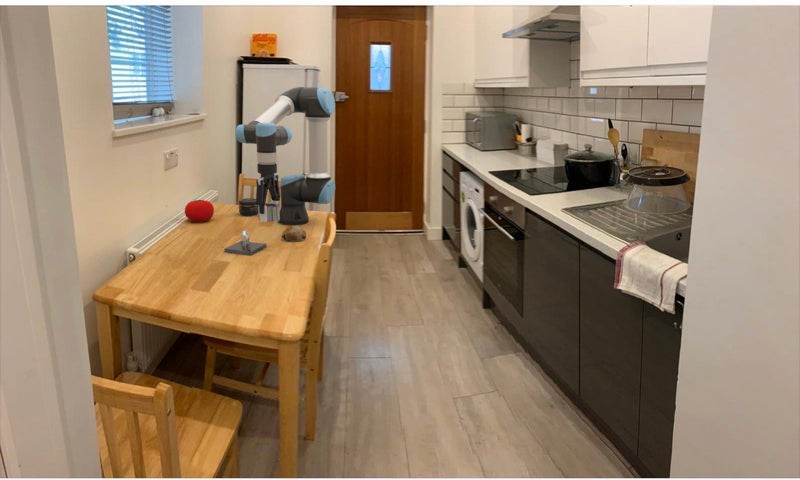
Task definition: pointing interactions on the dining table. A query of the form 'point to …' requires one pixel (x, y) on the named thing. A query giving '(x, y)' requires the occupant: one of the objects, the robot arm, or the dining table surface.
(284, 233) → the bread roll
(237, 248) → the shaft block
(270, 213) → the tube
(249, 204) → the jar
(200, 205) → the tomato
